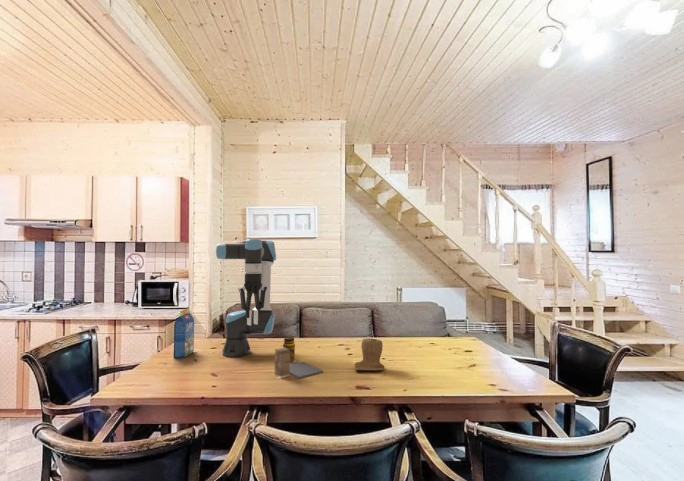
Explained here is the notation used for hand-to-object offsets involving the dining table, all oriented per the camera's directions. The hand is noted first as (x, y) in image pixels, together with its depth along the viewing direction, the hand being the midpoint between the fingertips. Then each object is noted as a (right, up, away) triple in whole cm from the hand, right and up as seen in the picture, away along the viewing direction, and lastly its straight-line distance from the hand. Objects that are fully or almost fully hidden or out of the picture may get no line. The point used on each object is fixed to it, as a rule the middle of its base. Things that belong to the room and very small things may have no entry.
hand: (252, 324), depth 162 cm
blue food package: (-47, -25, +35) cm, 63 cm away
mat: (+21, -25, +11) cm, 34 cm away
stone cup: (+54, -26, +14) cm, 62 cm away
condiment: (+12, -26, +25) cm, 38 cm away
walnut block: (+13, -25, +4) cm, 28 cm away
